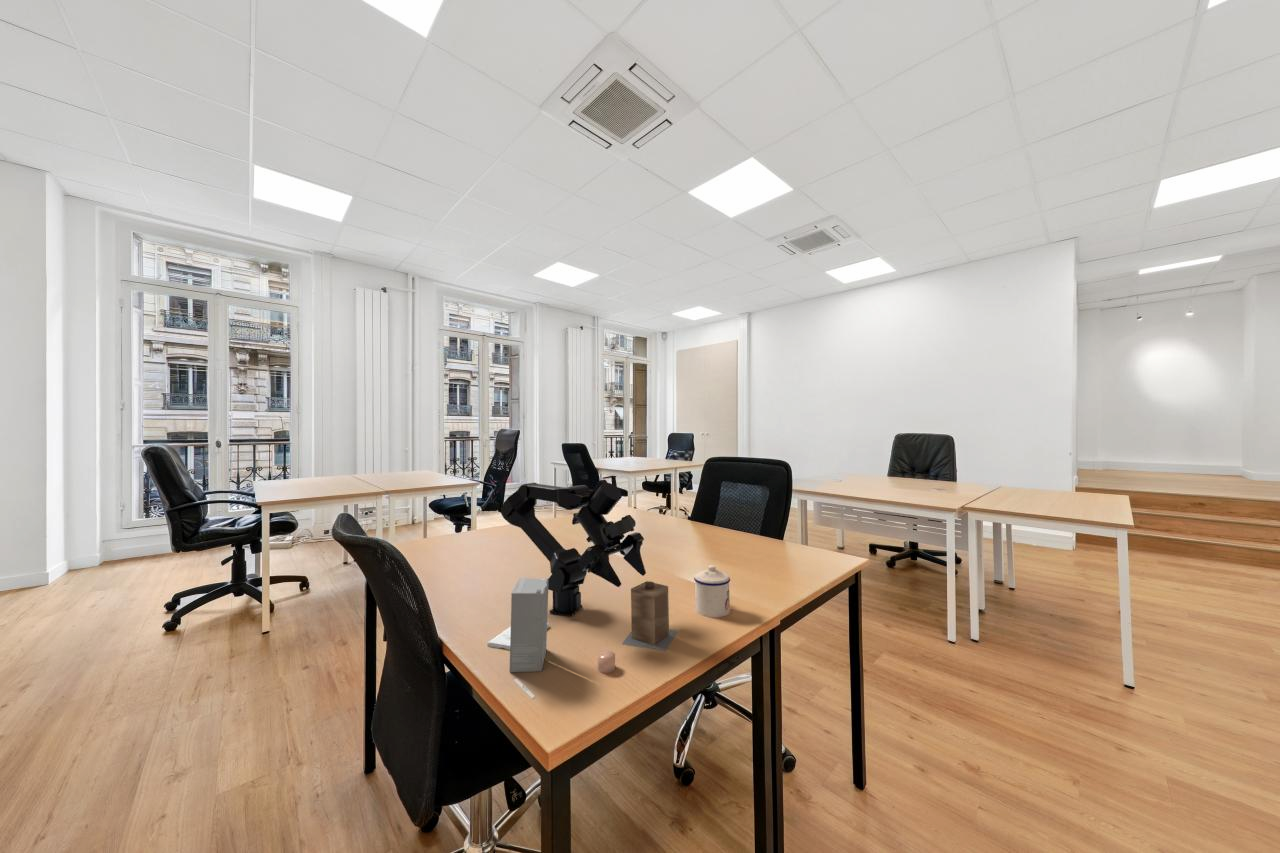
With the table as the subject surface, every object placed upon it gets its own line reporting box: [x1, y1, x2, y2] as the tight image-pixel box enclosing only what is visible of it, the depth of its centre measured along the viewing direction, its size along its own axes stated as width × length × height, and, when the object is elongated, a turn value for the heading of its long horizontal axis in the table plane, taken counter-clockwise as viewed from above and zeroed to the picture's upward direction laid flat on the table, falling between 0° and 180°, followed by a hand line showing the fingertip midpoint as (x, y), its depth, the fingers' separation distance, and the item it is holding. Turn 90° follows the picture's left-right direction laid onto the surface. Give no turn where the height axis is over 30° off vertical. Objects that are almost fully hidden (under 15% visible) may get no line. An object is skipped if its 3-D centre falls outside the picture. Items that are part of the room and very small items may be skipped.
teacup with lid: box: [693, 564, 731, 619], centre depth 112 cm, size 12×9×12 cm
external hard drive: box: [487, 621, 551, 651], centre depth 99 cm, size 2×8×12 cm
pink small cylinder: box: [597, 650, 616, 674], centre depth 84 cm, size 3×3×3 cm
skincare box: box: [509, 577, 549, 673], centre depth 88 cm, size 8×7×16 cm
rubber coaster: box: [621, 628, 679, 652], centre depth 97 cm, size 10×10×1 cm
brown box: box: [630, 580, 670, 646], centre depth 97 cm, size 6×6×12 cm
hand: (632, 580), depth 100 cm, fingers open, 9 cm apart
